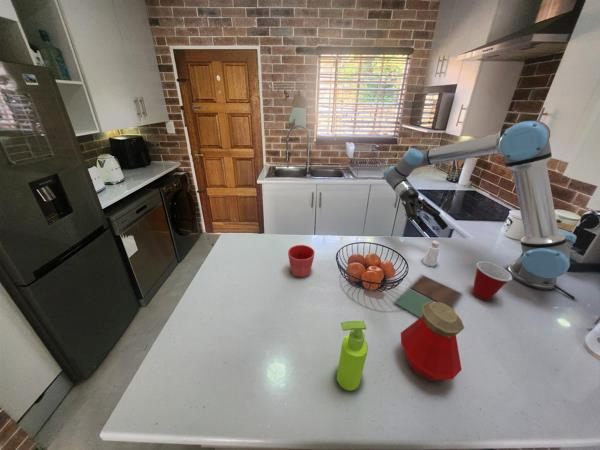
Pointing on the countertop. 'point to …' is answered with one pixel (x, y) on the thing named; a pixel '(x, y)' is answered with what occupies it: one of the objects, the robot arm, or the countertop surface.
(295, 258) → the flower pot
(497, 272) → the plastic cup
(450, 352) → the bottle
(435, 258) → the pepper shaker
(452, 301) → the walnut pad
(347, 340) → the soap dispenser
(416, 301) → the sage mat
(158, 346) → the countertop surface
